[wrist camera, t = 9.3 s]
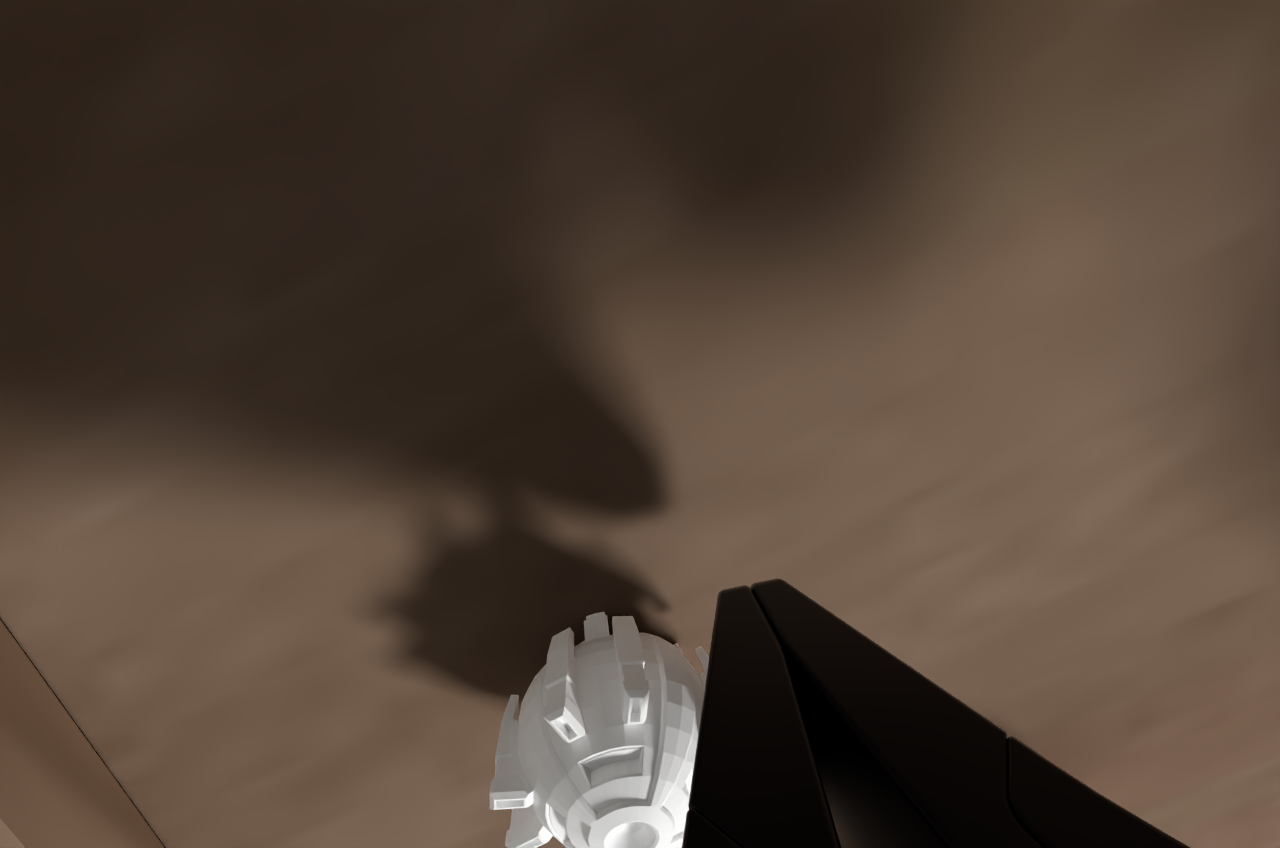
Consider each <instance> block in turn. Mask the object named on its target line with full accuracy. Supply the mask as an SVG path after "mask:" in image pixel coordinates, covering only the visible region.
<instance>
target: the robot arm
mask: <svg viewBox="0 0 1280 848" xmlns="http://www.w3.org/2000/svg"><path fill="white" fill-rule="evenodd" d="M688 807H689V810H688V812H687V815H686V822H685V829H684V836H683V843H682V848H1190V847H1189V846H1187V845H1185V844H1183V843H1182V842H1180V841H1178V840H1176V839H1175V838H1173V837H1171V836H1169V835H1168V834H1166V833H1164V832H1162V831H1161V830H1159V829H1157V828H1156V827H1154V826H1152V825H1151V824H1149V823H1147V822H1146V821H1144V820H1142V819H1141V818H1139V817H1137V816H1136V815H1134V814H1132V813H1131V812H1129V811H1127V810H1126V809H1124V808H1122V807H1121V806H1119V805H1117V804H1116V803H1114V802H1112V801H1111V800H1109V799H1107V798H1106V797H1104V796H1102V795H1101V794H1099V793H1097V792H1096V791H1094V790H1093V789H1091V788H1090V787H1088V786H1087V785H1085V784H1083V783H1082V782H1080V781H1079V780H1077V779H1076V778H1074V777H1073V776H1071V775H1070V774H1068V773H1067V772H1065V771H1064V770H1062V769H1060V768H1059V767H1057V766H1056V765H1054V764H1053V763H1051V762H1050V761H1048V760H1047V759H1045V758H1044V757H1042V756H1041V755H1039V754H1038V753H1036V752H1035V751H1033V750H1032V749H1030V748H1029V747H1028V746H1026V745H1025V744H1023V743H1022V742H1020V741H1019V740H1017V739H1016V738H1014V737H1009V738H1008V739H1007V734H1006V732H1005V731H1004V730H1002V729H1001V728H999V727H998V726H996V725H995V724H993V723H992V722H990V721H989V720H987V719H986V718H985V717H983V716H982V715H980V714H979V713H977V712H976V711H974V710H973V709H971V708H970V707H968V706H967V705H966V704H964V703H963V702H961V701H960V700H958V699H957V698H955V697H954V696H952V695H951V694H949V693H948V692H946V691H945V690H944V689H942V688H941V687H939V686H938V685H936V684H935V683H933V682H932V681H930V680H929V679H927V678H926V677H924V676H923V675H922V674H920V673H919V672H917V671H916V670H914V669H913V668H911V667H910V666H908V665H907V664H905V663H904V662H903V661H901V660H900V659H898V658H897V657H895V656H894V655H892V654H891V653H889V652H888V651H886V650H885V649H883V648H882V647H881V646H879V645H878V644H876V643H875V642H873V641H872V640H870V639H869V638H867V637H866V636H864V635H863V634H861V633H860V632H859V631H857V630H856V629H854V628H853V627H851V626H850V625H848V624H847V623H845V622H844V621H842V620H841V619H840V618H838V617H837V616H835V615H834V614H832V613H831V612H829V611H828V610H826V609H825V608H823V607H822V606H820V605H819V604H818V603H816V602H815V601H813V600H812V599H810V598H809V597H807V596H806V595H804V594H803V593H801V592H800V591H798V590H797V589H796V588H794V587H793V586H791V585H790V584H788V583H787V582H785V581H784V580H781V579H773V580H768V581H763V582H758V583H754V584H753V585H752V586H751V588H750V587H748V586H739V587H735V588H730V589H725V590H722V591H720V592H719V594H718V599H717V606H716V613H715V620H714V627H713V634H712V641H711V648H710V655H709V662H708V669H707V676H706V684H705V691H704V698H703V705H702V712H701V719H700V726H699V733H698V740H697V747H696V754H695V761H694V768H693V776H692V783H691V790H690V797H689V804H688Z"/></svg>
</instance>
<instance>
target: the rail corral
mask: <svg viewBox="0 0 1280 848" xmlns="http://www.w3.org/2000/svg"><path fill="white" fill-rule="evenodd" d="M0 848H164V846H163V845H162V844H161V842H160V841H159V839H158V838H157V837H156V835H155V834H154V832H153V831H152V830H151V828H150V827H149V826H148V824H147V823H146V821H145V820H144V819H143V817H142V816H141V814H140V813H139V812H138V810H137V809H136V807H135V806H134V805H133V803H132V802H131V801H130V799H129V798H128V796H127V795H126V794H125V792H124V791H123V789H122V788H121V787H120V785H119V784H118V782H117V781H116V780H115V778H114V777H113V776H112V774H111V773H110V771H109V770H108V769H107V767H106V766H105V764H104V763H103V762H102V760H101V759H100V757H99V756H98V755H97V753H96V752H95V751H94V749H93V748H92V746H91V745H90V744H89V742H88V741H87V739H86V738H85V737H84V735H83V734H82V732H81V731H80V730H79V728H78V727H77V726H76V724H75V723H74V721H73V720H72V719H71V717H70V716H69V714H68V713H67V712H66V710H65V709H64V707H63V706H62V705H61V703H60V702H59V701H58V699H57V698H56V696H55V695H54V694H53V692H52V691H51V689H50V688H49V687H48V685H47V684H46V682H45V681H44V680H43V678H42V677H41V676H40V674H39V673H38V671H37V670H36V669H35V667H34V666H33V664H32V663H31V662H30V660H29V659H28V657H27V656H26V655H25V653H24V652H23V650H22V649H21V648H20V646H19V645H18V644H17V642H16V641H15V639H14V638H13V637H12V635H11V634H10V632H9V631H8V630H7V628H6V627H5V625H4V624H3V623H2V621H1V620H0Z"/></svg>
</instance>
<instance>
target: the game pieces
mask: <svg viewBox="0 0 1280 848" xmlns="http://www.w3.org/2000/svg"><path fill="white" fill-rule="evenodd" d="M612 628H613V634H612V635H609V627H608V619H607V615H605V612H600V613H594V614H592V615H589V616H586V620H585V621H584V632H585V641H583V642H581V643H580V644H578V645H577V646H575V647H574V632H573V631H572V630H571V628H570V627H569V628H568V629H566V630H564V631H562V632H560V633H558V634H556V635H554V636H553V637H552V640H551V643H550V647H549V650H548V654H547V663H546V664H545V666H544V667H543V668H542V669H541V670H540V671H539V672H538V674H537V675H536V676H535V677H534V679H533V681H532V682H531V684H530V686H529V688H528V690H527V692H526V694H525V696H524V698H523V701H522V703H521V709H520V715H519V721H516V719H517V714H518V710H519V695H511V696H510V699H509V702H508V704H507V707H506V710H505V712H504V715H503V718H502V723H501V728H500V733H499V738H498V743H497V748H496V753H495V776H494V779H492V781H491V787H490V809H493V810H497V809H512V814H511V823H510V829H509V830H507V832H506V840H505V846H506V847H507V848H537V847H539V846H541V845H543V844H545V843H547V842H548V841H549V840H550V839H551V837H552V836H554V837H555V838H556V839H558V840H559V841H560V842H561V843H562V844H563V845H564V847H565V848H682V843H683V836H684V829H685V822H686V815H687V812H688V810H689V807H688V804H689V797H690V790H691V783H692V776H693V768H694V761H695V754H696V747H697V740H698V733H699V726H700V719H701V712H702V705H703V698H704V691H705V684H706V676H707V669H708V662H709V656H708V655H707V654H706V652H705V651H704V649H703V648H702V646H699V647H698V648H696V649H695V651H696V653H697V655H698V658H699V660H700V662H701V664H702V666H703V668H704V671H703V672H702V673H701V674H698V672H697V671H696V670H695V668H694V667H693V666H692V665H691V663H689V662H688V660H687V659H686V657H685V656H684V655H683V653H682V651H681V648H680V646H678V644H677V643H675V644H673V645H672V644H671V643H669V642H668V641H666V640H664V639H662V638H660V637H658V636H655V635H652V634H648V633H642V632H641V633H639V631H638V629H637V626H636V623H635V621H634V618H633V616H613V617H612Z"/></svg>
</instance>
